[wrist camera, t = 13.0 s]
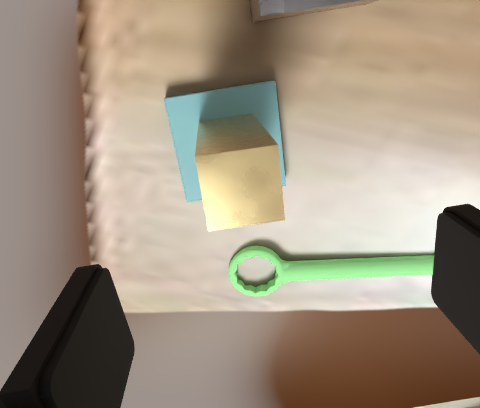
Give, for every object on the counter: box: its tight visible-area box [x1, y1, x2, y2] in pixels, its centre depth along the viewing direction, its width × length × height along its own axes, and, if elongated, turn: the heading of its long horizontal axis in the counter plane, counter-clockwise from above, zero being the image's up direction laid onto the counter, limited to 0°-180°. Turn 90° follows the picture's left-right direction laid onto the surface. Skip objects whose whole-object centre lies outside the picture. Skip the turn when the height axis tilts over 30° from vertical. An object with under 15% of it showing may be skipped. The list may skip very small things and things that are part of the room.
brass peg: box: [195, 113, 285, 232], centre depth 22 cm, size 4×4×10 cm
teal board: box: [164, 80, 286, 202], centre depth 27 cm, size 8×8×1 cm
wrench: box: [229, 246, 434, 296], centre depth 33 cm, size 25×2×5 cm
